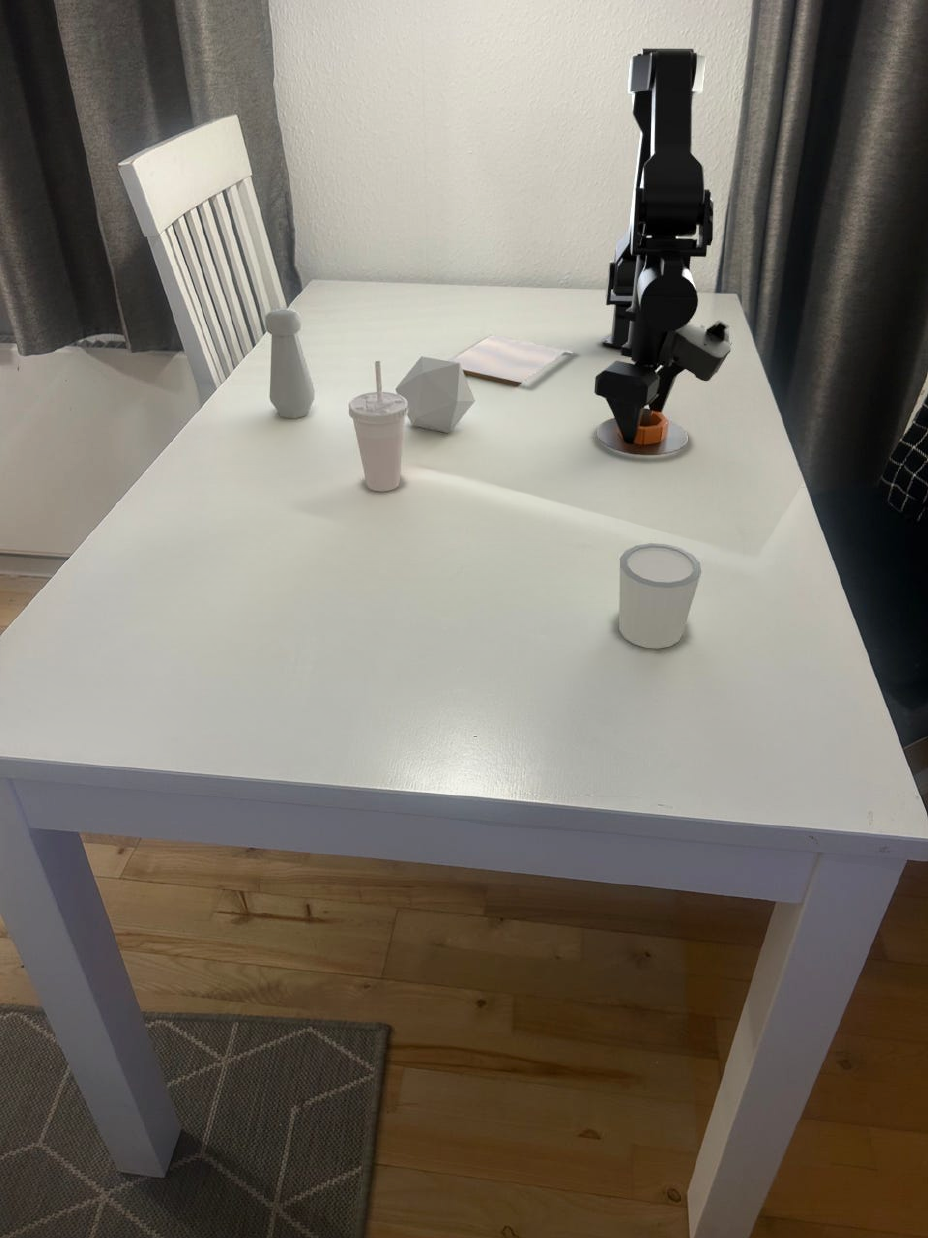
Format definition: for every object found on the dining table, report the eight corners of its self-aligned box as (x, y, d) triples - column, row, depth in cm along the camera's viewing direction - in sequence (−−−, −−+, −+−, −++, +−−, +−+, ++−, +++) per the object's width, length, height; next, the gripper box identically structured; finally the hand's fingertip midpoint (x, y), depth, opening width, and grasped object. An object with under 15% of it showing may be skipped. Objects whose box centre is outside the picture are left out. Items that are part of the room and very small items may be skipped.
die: (485, 424, 117) (458, 349, 116) (476, 417, 108) (448, 336, 107) (423, 447, 118) (397, 373, 118) (410, 443, 110) (381, 363, 109)
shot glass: (604, 608, 84) (611, 543, 80) (677, 604, 84) (688, 540, 80) (621, 655, 78) (629, 589, 74) (699, 651, 79) (712, 584, 75)
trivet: (490, 338, 139) (490, 334, 139) (574, 355, 134) (574, 351, 133) (442, 369, 130) (442, 364, 130) (529, 388, 124) (530, 384, 124)
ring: (629, 420, 114) (631, 405, 113) (672, 430, 112) (674, 415, 111) (611, 437, 110) (613, 422, 109) (655, 448, 108) (657, 432, 107)
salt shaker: (321, 403, 121) (311, 304, 113) (311, 422, 116) (299, 320, 108) (278, 401, 121) (264, 303, 113) (266, 420, 116) (251, 318, 109)
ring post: (617, 414, 118) (620, 385, 115) (699, 432, 113) (704, 404, 111) (581, 447, 110) (583, 418, 108) (668, 469, 106) (672, 438, 103)
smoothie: (419, 475, 105) (415, 356, 96) (398, 501, 100) (392, 379, 91) (368, 466, 106) (359, 349, 98) (345, 492, 101) (334, 371, 93)
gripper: (700, 338, 92) (678, 477, 101) (755, 288, 104) (731, 415, 114) (598, 319, 96) (587, 454, 106) (662, 273, 109) (647, 397, 118)
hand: (642, 429), depth 111 cm, fingers open, 8 cm apart
